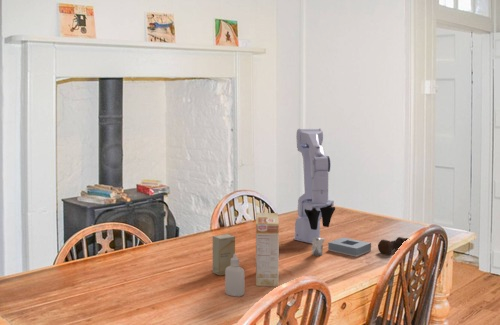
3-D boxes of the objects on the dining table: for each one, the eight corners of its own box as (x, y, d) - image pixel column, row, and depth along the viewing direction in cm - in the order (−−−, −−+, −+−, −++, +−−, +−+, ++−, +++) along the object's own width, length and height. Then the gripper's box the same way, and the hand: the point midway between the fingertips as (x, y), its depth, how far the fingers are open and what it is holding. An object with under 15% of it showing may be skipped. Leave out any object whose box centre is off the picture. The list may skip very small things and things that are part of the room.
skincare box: (219, 276, 183) (219, 239, 181) (212, 272, 186) (211, 235, 185) (235, 272, 186) (235, 236, 185) (228, 269, 190) (228, 233, 188)
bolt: (409, 252, 217) (384, 258, 207) (400, 243, 220) (375, 248, 210) (416, 240, 214) (392, 246, 204) (407, 231, 217) (382, 236, 207)
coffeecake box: (256, 270, 188) (256, 212, 186) (277, 270, 188) (278, 212, 186) (255, 286, 174) (255, 223, 171) (278, 286, 173) (279, 223, 171)
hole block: (328, 250, 212) (328, 242, 211) (342, 244, 219) (343, 237, 219) (356, 256, 204) (356, 248, 204) (370, 250, 211) (371, 242, 211)
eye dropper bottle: (236, 290, 170) (236, 250, 169) (246, 295, 166) (246, 255, 164) (223, 292, 168) (223, 252, 167) (233, 298, 163) (233, 257, 162)
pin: (310, 254, 207) (310, 238, 206) (316, 252, 209) (316, 236, 208) (318, 256, 204) (319, 240, 203) (324, 254, 207) (324, 238, 206)
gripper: (317, 192, 196) (317, 232, 197) (340, 189, 207) (340, 226, 208) (301, 191, 201) (301, 229, 202) (324, 187, 212) (324, 224, 213)
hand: (319, 228), depth 205 cm, fingers open, 7 cm apart
